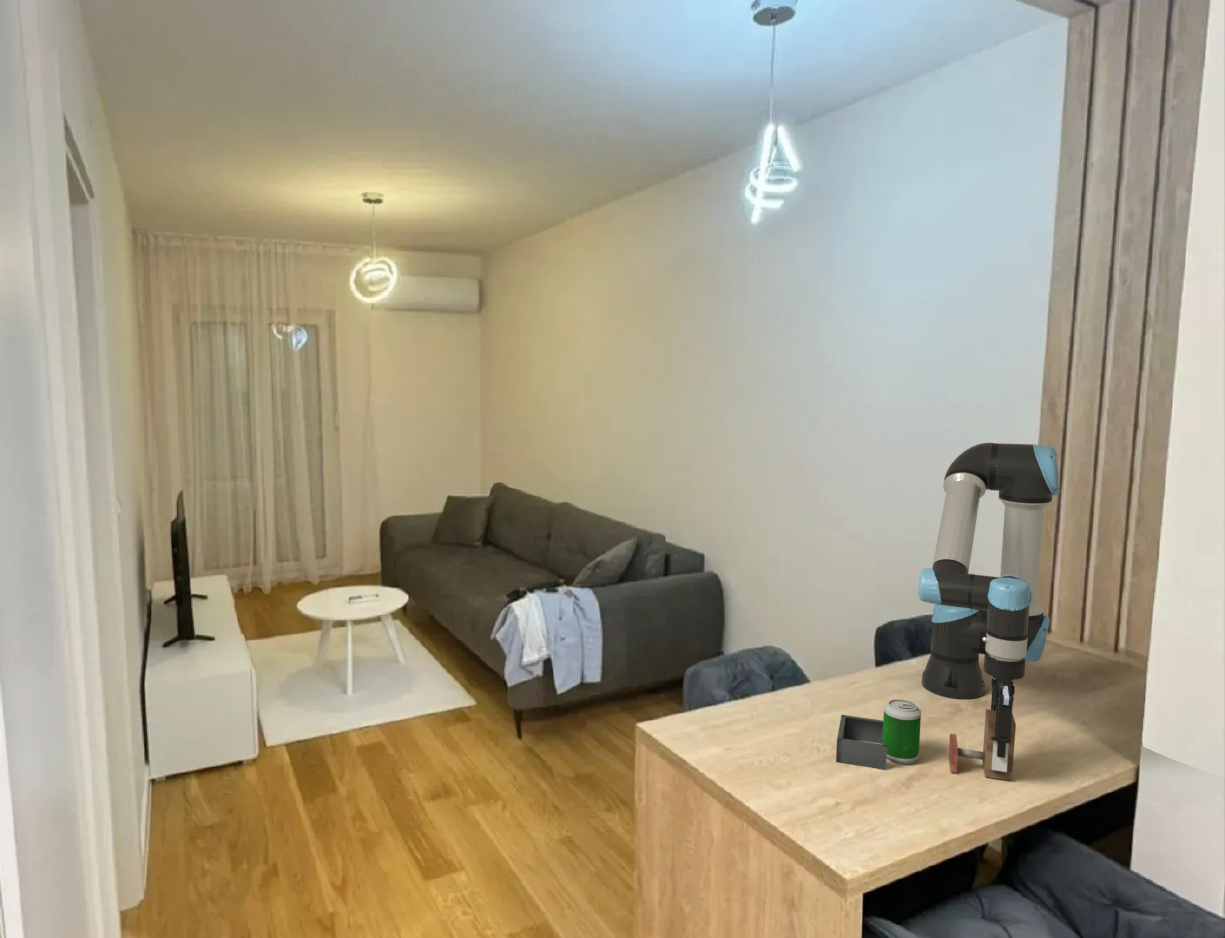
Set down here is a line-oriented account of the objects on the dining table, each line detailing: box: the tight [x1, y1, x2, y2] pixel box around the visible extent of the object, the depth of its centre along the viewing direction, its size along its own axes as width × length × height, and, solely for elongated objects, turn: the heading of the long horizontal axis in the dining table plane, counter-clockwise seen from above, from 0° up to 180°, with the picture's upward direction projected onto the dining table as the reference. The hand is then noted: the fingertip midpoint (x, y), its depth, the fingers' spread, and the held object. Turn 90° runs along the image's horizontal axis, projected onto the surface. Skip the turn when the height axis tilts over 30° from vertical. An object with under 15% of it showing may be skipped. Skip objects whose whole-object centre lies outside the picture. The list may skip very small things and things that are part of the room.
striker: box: [948, 708, 1017, 782], centre depth 168 cm, size 12×7×12 cm, turn 70°
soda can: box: [882, 698, 922, 765], centre depth 174 cm, size 8×8×12 cm
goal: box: [835, 714, 888, 771], centre depth 177 cm, size 10×13×5 cm
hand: (997, 762), depth 168 cm, fingers closed on striker, 6 cm apart
